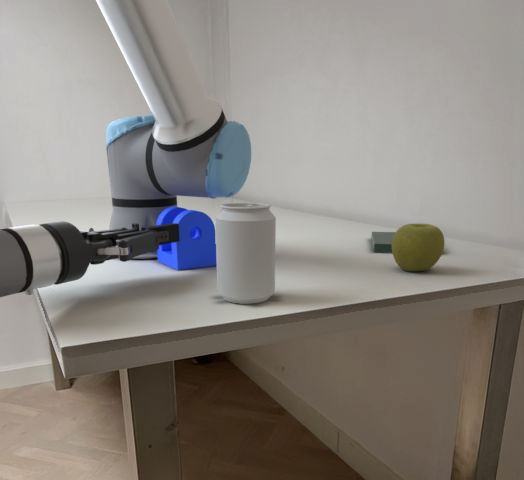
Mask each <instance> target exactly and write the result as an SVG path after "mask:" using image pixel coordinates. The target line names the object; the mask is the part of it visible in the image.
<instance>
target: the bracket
mask: <svg viewBox="0 0 524 480" xmlns="http://www.w3.org/2000/svg"><path fill="white" fill-rule="evenodd" d="M169 223H176V224H179V240H180V241H179V242H174V243H169V244H164V245H159V249H158V250H157V254H158V258H157V262H158V263H160V264H162V265H165V266H167V267H170V268H172V269H175V270H176V271H181V270H188V269H198V268H206V267H207V268H208V267H213V266H217V260H216V225H215V223H214V221H213V219H212V218H211V217H210V215H208V214H207V213H205V212H203V211H201V210H195V209H187V208H185V207H180V206H177V207H169V208H167V209H165V210H164V211H163V212H162V213H161V214H160V215H159V217H158V219H157V222H156V225H163V224H169Z"/></svg>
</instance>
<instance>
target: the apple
mask: <svg viewBox="0 0 524 480" xmlns="http://www.w3.org/2000/svg"><path fill="white" fill-rule="evenodd" d="M395 232H396V233H395V234H394V237H393V240H392V257H393V259H394V261H395V263H396V264H397V266H398V267H399V268H400V269H401V270H403V271H406V272H423V271H426V270H430V269H431V268H433V267H434V266H435V265H436V264H437V263H438V262H439V260H440V259H441V257H442V255H443V252H444V249H445V235H444V233H443V231H442V230H441V228H439V227H438V226H436V225H433V224H430V223H407V224H404V225H402V226H400V227H399V228H398V229H397V230H395Z"/></svg>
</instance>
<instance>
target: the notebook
mask: <svg viewBox="0 0 524 480" xmlns="http://www.w3.org/2000/svg"><path fill="white" fill-rule="evenodd" d="M395 233H396V231H371V236H370V241H371V244H372V245H371V246H372V249H373V253H388V254H389V253H392V240H393V237H394V234H395ZM392 254H393V253H392Z"/></svg>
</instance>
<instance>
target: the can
mask: <svg viewBox="0 0 524 480" xmlns="http://www.w3.org/2000/svg"><path fill="white" fill-rule="evenodd" d="M219 207H220V208H221V210H220V211H219V213H217V215H216V216H215V219H214V221H215V239H216V260H217V265H216V290H217V291H216V292H217V293H218V295H219V296H220V297H222V298H223V299H224V301H226V302H229V303H233V304H241V305H242V304H243V305H248V304H252V305H253V304H259V303H263V302H266V301H268V300H269V299H270V298H271V297H272V296H273V295H274V294H275V292H276V234H277V233H276V228H277V226H276V224H277V223H276V222H277V218H276V217H277V216H275V214H274V213H273V212H272V211H271V210H270V208H271V207H272V205H271V204H269V203H263V202H228V203H223V204H220V206H219Z"/></svg>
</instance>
